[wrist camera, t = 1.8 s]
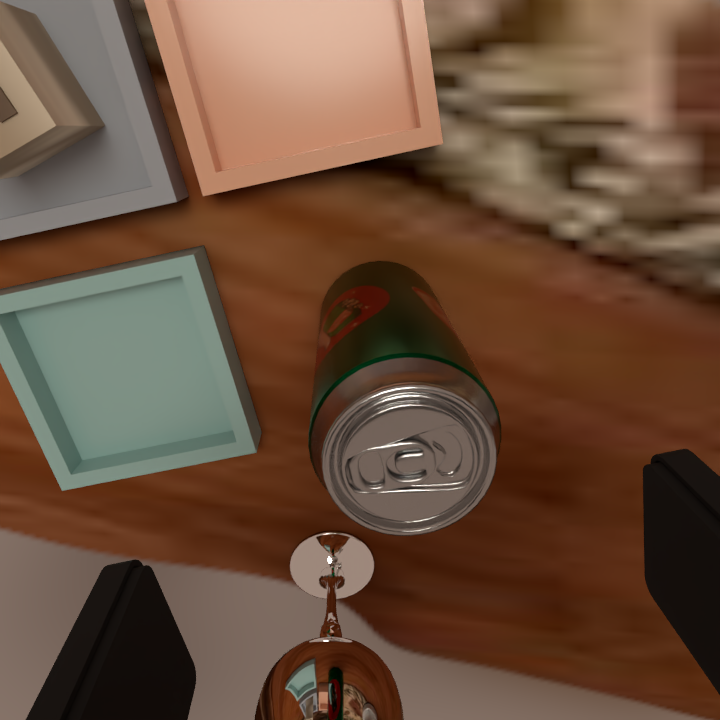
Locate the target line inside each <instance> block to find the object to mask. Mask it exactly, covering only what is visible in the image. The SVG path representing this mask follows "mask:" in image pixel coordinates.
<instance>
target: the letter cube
mask: <svg viewBox="0 0 720 720" xmlns="http://www.w3.org/2000/svg"><path fill="white" fill-rule="evenodd" d="M104 126H105V124H104V122H103V121H102V119H101V118H100V116H99V114H98V113H97V111H96V110H95V108H94V106H93V105H92V103H91V102H90V100H89V98H88V97H87V95H86V94H85V92H84V90H83V89H82V87H81V85H80V84H79V82H78V81H77V79H76V77H75V76H74V74H73V73H72V71H71V69H70V68H69V66H68V65H67V63H66V61H65V60H64V58H63V57H62V55H61V53H60V52H59V50H58V49H57V47H56V45H55V44H54V42H53V41H52V39H51V37H50V36H49V34H48V33H47V31H46V29H45V28H44V26H43V25H42V23H41V21H40V20H39V18H38V17H37V15H36V14H34V13H31V12H29V11H26V10H23V9H20V8H18V7H15V6H12V5H10V4H7V3H4V2H1V1H0V179H5V178H11V177H18V176H20V175H22V174H23V173H25V172H27V171H28V170H30V169H32V168H34V167H35V166H37V165H39V164H40V163H42V162H44V161H46V160H47V159H49V158H51V157H53V156H54V155H56V154H58V153H59V152H61V151H63V150H65V149H66V148H68V147H70V146H71V145H73V144H75V143H77V142H78V141H80V140H82V139H84V138H85V137H87V136H89V135H90V134H92V133H94V132H96V131H97V130H99V129H101V128H102V127H104Z"/></svg>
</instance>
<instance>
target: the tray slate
mask: <svg viewBox="0 0 720 720" xmlns="http://www.w3.org/2000/svg"><path fill="white" fill-rule="evenodd" d="M0 1H1V2H4V3H7V4H10V5H12V6H15V7H18V8H20V9H23V10H26V11H29V12H31V13H34V14H36V15H37V17H38V18H39V20H40V21H41V23H42V25H43V26H44V28H45V29H46V31H47V33H48V34H49V36H50V37H51V39H52V41H53V42H54V44H55V45H56V47H57V49H58V50H59V52H60V53H61V55H62V57H63V58H64V60H65V61H66V63H67V65H68V66H69V68H70V69H71V71H72V73H73V74H74V76H75V77H76V79H77V81H78V82H79V84H80V85H81V87H82V89H83V90H84V92H85V94H86V95H87V97H88V98H89V100H90V102H91V103H92V105H93V106H94V108H95V110H96V111H97V113H98V114H99V116H100V118H101V119H102V121H103V122H104V124H105V126H104V127H102V128H101V129H99V130H97V131H96V132H94V133H92V134H90V135H89V136H87V137H85V138H84V139H82V140H80V141H78V142H77V143H75V144H73V145H71V146H70V147H68V148H66V149H65V150H63V151H61V152H59V153H58V154H56V155H54V156H53V157H51V158H49V159H47V160H46V161H44V162H42V163H40V164H39V165H37V166H35V167H34V168H32V169H30V170H28V171H27V172H25V173H23V174H22V175H20V176H18V177H11V178H5V179H0V240H4V239H9V238H13V237H18V236H23V235H27V234H32V233H36V232H41V231H46V230H50V229H55V228H59V227H64V226H68V225H73V224H78V223H82V222H87V221H91V220H96V219H101V218H105V217H110V216H114V215H119V214H123V213H128V212H133V211H137V210H142V209H146V208H151V207H156V206H160V205H165V204H169V203H174V202H178V201H180V200H182V199H184V198H186V197H188V196H189V195H188V192H187V189H186V186H185V182H184V179H183V176H182V173H181V169H180V166H179V163H178V160H177V157H176V153H175V150H174V147H173V144H172V140H171V137H170V134H169V131H168V127H167V124H166V121H165V118H164V114H163V111H162V108H161V105H160V101H159V98H158V95H157V92H156V88H155V85H154V82H153V79H152V75H151V72H150V69H149V66H148V63H147V59H146V56H145V53H144V50H143V46H142V43H141V40H140V37H139V33H138V30H137V27H136V24H135V20H134V17H133V14H132V11H131V7H130V4H129V1H128V0H0Z"/></svg>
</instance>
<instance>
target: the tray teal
mask: <svg viewBox="0 0 720 720" xmlns="http://www.w3.org/2000/svg"><path fill="white" fill-rule="evenodd" d="M0 363H1V365H2V367H3V369H4V371H5V373H6V375H7V377H8V379H9V382H10V384H11V386H12V388H13V390H14V392H15V394H16V396H17V398H18V400H19V402H20V404H21V406H22V408H23V411H24V413H25V415H26V417H27V419H28V421H29V423H30V425H31V427H32V429H33V431H34V433H35V435H36V438H37V440H38V442H39V444H40V446H41V448H42V450H43V452H44V454H45V456H46V458H47V460H48V462H49V464H50V467H51V469H52V471H53V473H54V475H55V477H56V479H57V481H58V483H59V485H60V487H61V489H62V491H63V490H68V489H73V488H78V487H83V486H89V485H94V484H99V483H104V482H109V481H114V480H119V479H124V478H129V477H135V476H140V475H145V474H150V473H155V472H160V471H165V470H170V469H175V468H180V467H186V466H191V465H196V464H201V463H206V462H211V461H216V460H221V459H226V458H231V457H237V456H242V455H247V454H252V453H257V449H258V445H259V441H260V437H261V433H262V432H261V429H260V426H259V422H258V419H257V416H256V413H255V409H254V406H253V403H252V400H251V396H250V393H249V390H248V387H247V383H246V380H245V377H244V374H243V370H242V367H241V364H240V361H239V357H238V354H237V351H236V348H235V345H234V341H233V338H232V335H231V332H230V328H229V325H228V322H227V319H226V315H225V312H224V309H223V306H222V302H221V299H220V296H219V293H218V289H217V286H216V283H215V280H214V276H213V273H212V270H211V267H210V263H209V260H208V257H207V254H206V251H205V247H204V245H203V246H199V247H194V248H189V249H185V250H180V251H175V252H171V253H166V254H161V255H157V256H152V257H147V258H143V259H138V260H133V261H129V262H124V263H119V264H115V265H110V266H105V267H101V268H96V269H91V270H87V271H82V272H77V273H73V274H68V275H63V276H59V277H54V278H49V279H45V280H40V281H35V282H30V283H26V284H21V285H16V286H12V287H7V288H2V289H0Z"/></svg>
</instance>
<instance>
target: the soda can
mask: <svg viewBox="0 0 720 720" xmlns="http://www.w3.org/2000/svg"><path fill="white" fill-rule="evenodd" d="M500 443H501V423H500V417H499V412H498V410H497V407H496V405H495V402H494V400H493V398H492V396H491V394H490V392H489V391H488V389H487V387H486V385H485V384H484V382H483V380H482V378H481V376H480V375H479V373H478V371H477V369H476V368H475V366H474V364H473V362H472V360H471V359H470V357H469V355H468V353H467V352H466V350H465V348H464V346H463V344H462V343H461V341H460V339H459V337H458V336H457V334H456V332H455V330H454V328H453V327H452V325H451V323H450V321H449V320H448V318H447V316H446V314H445V312H444V311H443V309H442V307H441V305H440V304H439V302H438V300H437V298H436V296H435V295H434V293H433V291H432V290H431V288H430V286H429V285H428V283H427V282H426V281H425V280H424V279H423V278H422V277H421V276H420V275H419V274H417V273H416V272H415V271H413V270H411V269H410V268H408V267H406V266H403V265H400V264H398V263H393V262H385V261H377V262H369V263H365V264H361V265H359V266H356V267H354V268H352V269H350V270H349V271H347V272H346V273H344V274H343V275H342V276H341V277H339V278H338V279H337V280H336V281H335V282H334V284H333V285H332V286H331V287H330V289H329V291H328V293H327V294H326V296H325V299H324V302H323V305H322V310H321V316H320V326H319V336H318V346H317V356H316V366H315V376H314V386H313V396H312V406H311V415H310V425H309V445H308V446H309V452H310V459H311V462H312V465H313V468H314V470H315V473H316V474H317V476H318V478H319V480H320V482H321V483H322V484H323V486H324V487H325V488H326V489H327V491H328V492H329V494H330V496H331V497H332V499H333V501H334V502H335V504H336V505H337V506H338V507H339V508H340V510H341V511H342V512H343V513H345V514H346V515H347V516H348V517H349V518H350V519H352V520H353V521H355V522H357V523H358V524H360V525H362V526H364V527H366V528H368V529H370V530H373V531H377V532H380V533H384V534H390V535H397V536H412V535H421V534H426V533H430V532H434V531H437V530H440V529H442V528H445V527H448V526H449V525H451V524H453V523H455V522H457V521H459V520H460V519H461V518H463V517H464V516H466V515H467V514H468V513H469V512H471V511H472V510H473V509H474V508H475V507H476V506H477V505H478V504H479V502H480V501H481V500H482V498H483V497H484V496H485V494H486V492H487V491H488V489H489V487H490V485H491V483H492V480H493V477H494V474H495V470H496V464H497V456H498V454H499V449H500Z"/></svg>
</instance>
